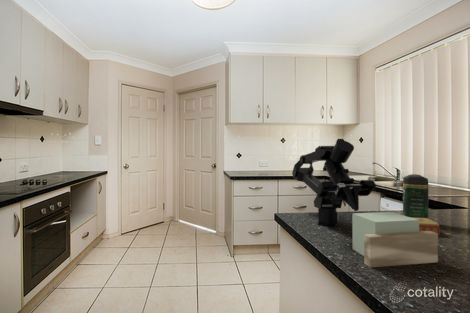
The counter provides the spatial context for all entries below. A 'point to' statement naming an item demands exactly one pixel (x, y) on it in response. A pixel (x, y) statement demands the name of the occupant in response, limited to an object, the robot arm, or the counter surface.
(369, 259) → the board
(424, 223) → the carton
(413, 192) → the coffee jar
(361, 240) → the block
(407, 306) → the counter surface
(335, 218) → the robot arm
